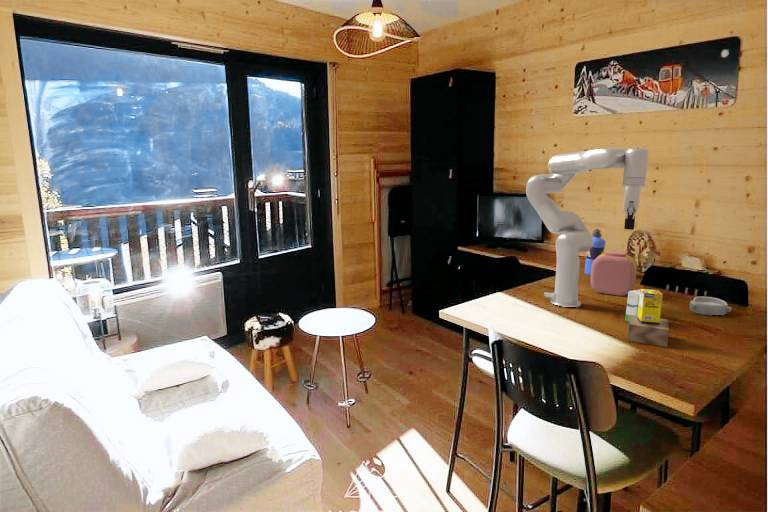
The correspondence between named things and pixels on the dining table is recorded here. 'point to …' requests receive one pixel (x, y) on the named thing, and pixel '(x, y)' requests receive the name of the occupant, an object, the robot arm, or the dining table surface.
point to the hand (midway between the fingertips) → (629, 227)
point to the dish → (709, 306)
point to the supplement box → (649, 306)
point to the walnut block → (648, 332)
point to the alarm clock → (613, 273)
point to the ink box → (632, 304)
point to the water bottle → (594, 251)
